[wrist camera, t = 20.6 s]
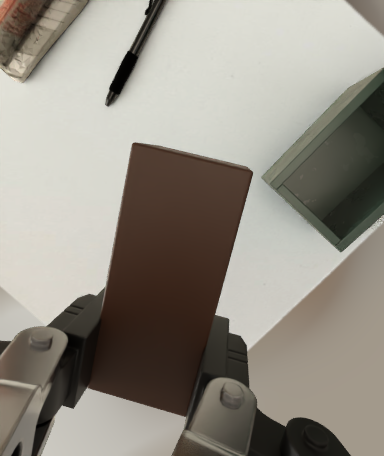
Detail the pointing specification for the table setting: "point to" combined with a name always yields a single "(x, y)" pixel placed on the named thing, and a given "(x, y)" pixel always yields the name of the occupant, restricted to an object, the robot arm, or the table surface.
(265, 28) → the table surface
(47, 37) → the packaged product
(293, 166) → the green storage bin
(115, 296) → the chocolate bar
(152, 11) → the pen
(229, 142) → the table surface
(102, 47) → the table surface
